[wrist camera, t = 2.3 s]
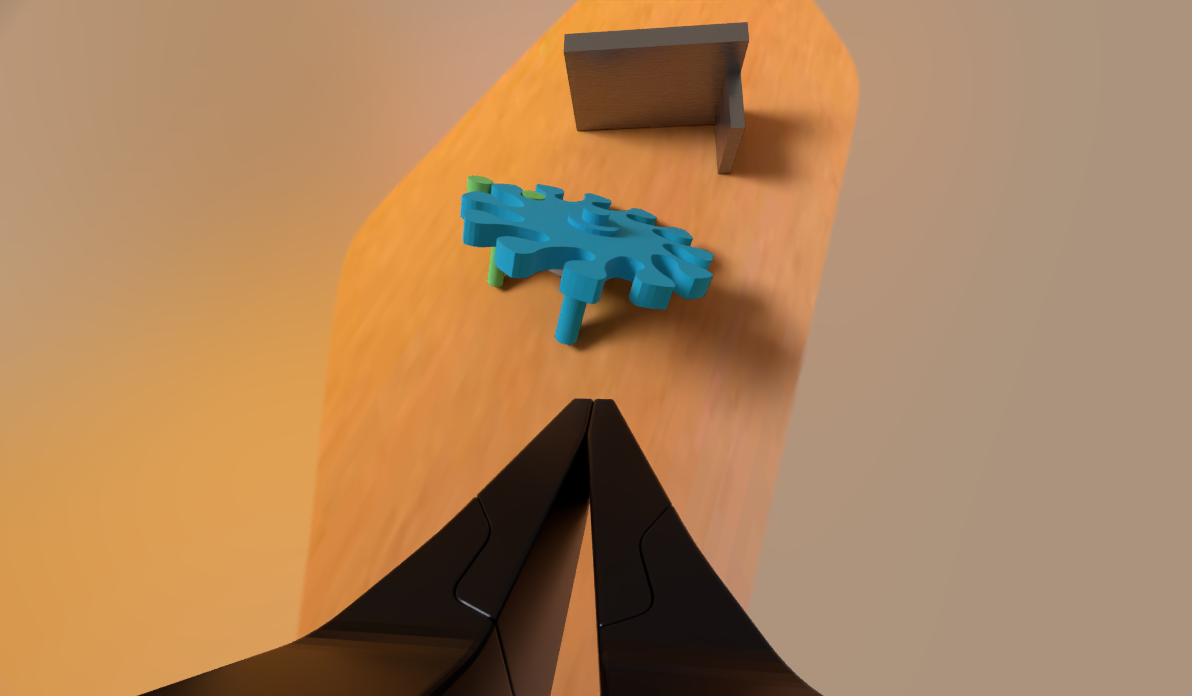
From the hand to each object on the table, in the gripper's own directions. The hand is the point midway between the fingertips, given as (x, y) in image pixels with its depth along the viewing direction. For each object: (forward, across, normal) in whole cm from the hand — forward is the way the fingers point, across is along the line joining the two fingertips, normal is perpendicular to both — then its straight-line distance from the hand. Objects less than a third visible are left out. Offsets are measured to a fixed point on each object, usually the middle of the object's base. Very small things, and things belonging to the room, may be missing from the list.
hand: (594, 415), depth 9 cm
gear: (+13, +1, +1) cm, 13 cm away
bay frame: (+18, -2, -4) cm, 18 cm away
